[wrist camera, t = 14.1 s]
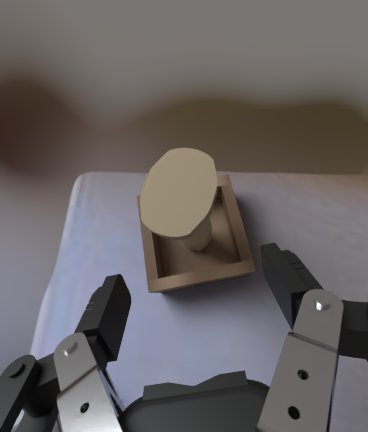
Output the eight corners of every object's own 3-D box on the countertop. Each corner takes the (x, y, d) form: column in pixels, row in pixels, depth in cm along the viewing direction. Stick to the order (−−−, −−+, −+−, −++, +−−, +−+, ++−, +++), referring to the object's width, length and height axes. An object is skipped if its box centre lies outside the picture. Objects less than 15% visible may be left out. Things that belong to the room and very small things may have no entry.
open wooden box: (227, 192, 31) (228, 174, 27) (250, 274, 28) (256, 270, 23) (148, 210, 32) (137, 196, 28) (160, 292, 28) (148, 292, 24)
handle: (222, 221, 29) (227, 155, 15) (208, 270, 27) (198, 245, 13) (187, 212, 30) (160, 142, 16) (172, 258, 29) (127, 224, 14)
